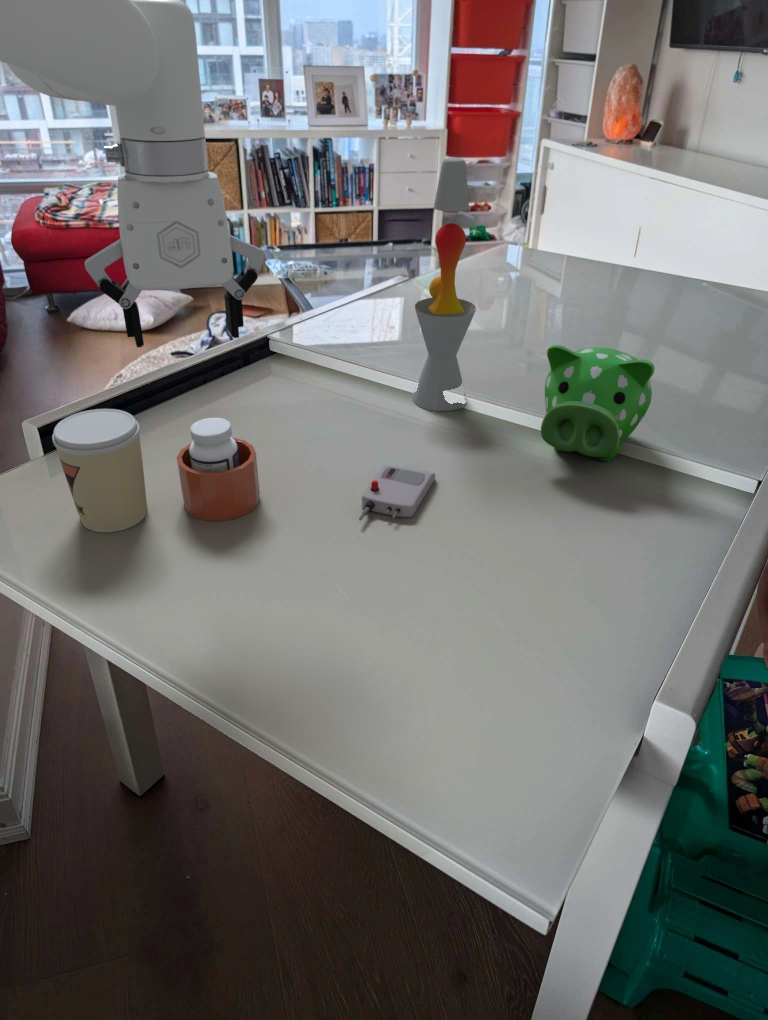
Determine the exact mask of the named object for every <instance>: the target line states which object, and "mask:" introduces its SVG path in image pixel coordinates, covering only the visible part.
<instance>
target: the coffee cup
mask: <svg viewBox="0 0 768 1020" xmlns="http://www.w3.org/2000/svg"><path fill="white" fill-rule="evenodd" d="M140 433H141V427H140V424H139V422H138V421H137V420H136V418H135V417H134V416H133V415H132V414H131V413H129V412H127V411H124V410H121V409H116V408H95V409H88V410H83V411H80V412H77V413H73V414H71V415H68V416H66V417H65V418H63V419H61V420H60V421H59V422H58V423H57V424H56V425H55V427H54V428H53V433H52V435H51V436H52V437H51V439H52V440H51V441H52V443H53V446H54V447H55V448H56V449H55V450H56V451H57V455H58V458H59V461H60V464H61V467H62V470H63V473H64V476H65V480H66V482H67V485H68V488H69V491H70V494H71V497H72V500H73V503H74V505H75V508H76V512H77V514H78V517H79V520H80V522H81V524H82V525H83V526H84V528H86V529H88V530H90V531H92V532H96V533H115V532H121V531H124V530H128V529H130V528H133V527H134V526H137V525H138V524H139V523H140V522H142V521H143V520H144V518H145V517H146V516H147V512H148V503H147V502H148V501H147V494H146V493H147V491H146V482H145V473H144V463H143V453H142V445H141V438H140V437H141V436H140Z"/></svg>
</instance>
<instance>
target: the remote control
mask: <svg viewBox="0 0 768 1020" xmlns="http://www.w3.org/2000/svg"><path fill="white" fill-rule="evenodd" d="M435 480H436V473H435V472H432V471H428V470H424V469H420V468H419V469H418V468H413V467H408V466H404V465H398V464H391V463H386V464H384V465H383V466H382V467H381V469H379V471H378V472H377V473H376V475H375V477H374V478H373V479H372V480H371V482H370V484H369V485H368V486H367V487H366V489H365V491H364V492H363V493H362V494H361V507H362V508H364V510H363V511H362V512H361V515H360V516H359V518H358V521H359V522H360V521H363V518H364V517H365V516H366V515H367V514H368V513H369V512H371V511H372V512H375V513H379V514H383V515H387V516H391V517H392V519H395V518H396V517H400V518H412V517H413V516H414V514H415V513H416V511H417V510H418V508H419V506H420V505H421V503H422V501H423V499H424V498H425V496H426V495H427V493H428V491H429V490H430V488H431V487H432V485H433V483H434V481H435Z"/></svg>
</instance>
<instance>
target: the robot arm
mask: <svg viewBox="0 0 768 1020" xmlns="http://www.w3.org/2000/svg"><path fill="white" fill-rule="evenodd" d="M0 62H1V63H3V64H6V65H7V66H8V68H9V70H10V71H11V72H12V73H13V74H14V76H15V77H16V78H18V79H19V80H20V81H21V82H22V83H23V84H25V85H26V86H27V87H29V88H30V89H32V90H34V91H36V92H38V93H39V94H40V93H41V94H43V95H46V96H48V97H50V98H51V97H52V98H56V99H63V100H68V101H76V102H86V103H93V104H98V105H104V106H112V107H113V106H114V107H115V114H116V115H115V116H116V120H117V127H118V135H119V137H118V138H119V141H116V144H115V143H114V144H112V145H104V153H105V159H106V163H115V164H116V165H120V167H121V168H124V173H120V174H119V175H118V177H117V191H116V194H117V195H116V198H117V213H118V216H117V217H118V229H119V237H120V238H119V239H117V240H116V241H114V242H112V243H111V244H109V245H108V246H106V247H105V248H103V249H101V250H99V251H97V252H96V253H95V254H93V255H92V256H90V257H88V258H87V259H86V260H84V269H85V270H86V272H87V273H88V274H89V276H90V278H92V280H93V281H94V283H95V284H96V285H97V287H98V288H99V289H100V291H101V292H102V293H103V294H104V295H106V296H107V297H109V298H110V299H111V300H113V301H114V302H115V303H117V305H119V307H120V308H122V312H123V317H124V324H125V325H124V326H125V331H126V336H127V338H134V341H135V346H136V348H143V347H144V346H145V342H144V337H143V330H142V324H141V319H140V318H141V317H140V316H141V315H140V311H139V306H138V302H137V301H136V300H137V298H138V297H139V296H140V294H141V293H142V291H149V292H150V291H167V290H180V289H181V290H182V289H193V288H205V287H215V286H222V287H223V288H224V289H225V290H226V291H225V294H224V295H223V297H224V306H225V307H224V308H225V309H224V310H225V319H226V328H227V331H228V333H229V334H230V336H231V338H233V339H239V338H240V331H239V329H240V328H243V327H244V326H245V325H244V312H243V311H244V310H243V299H244V298H245V297H246V293H247V292H248V291H249V290H250V288H251V287H252V286H253V285H254V284H255V283H256V281H257V280H258V278H259V277H258V276H259V273H260V272H261V270H262V267H263V265H264V262H265V260H266V257H267V256H266V253H265V252H264V251H263V249H262V248H259V247H258V246H255V245H253V244H251V243H250V242H247V241H245V240H242V239H241V238H239V237H236V236H234V235H231V234H230V230H229V229H230V228H229V222H228V217H227V210H226V205H225V199H224V195H223V192H222V187H221V183H220V180H219V176H218V175H217V174H216V173H214V172H212V171H209V162H208V152H207V141H206V132H205V131H206V130H205V121H204V110H203V109H204V108H203V98H202V87H201V77H200V76H201V75H200V65H199V55H198V44H197V32H196V23H195V18H194V15H193V13H192V11H191V9H190V7H189V6H188V5H187V4H186V3H185V1H181V0H0ZM233 253H236V254H238V255H240V256H243V257H244V258H246V259H247V261H246V264H245V267H244V268H243V269H242V270H241V272H240V273H239V274H238V275H237V276H236V278H235V277H234V263H233V262H234V261H233ZM121 258H122V260H123V266H124V270H125V275H126V279H125V281H124V282H123V283H122V284H121V285H119V284H118V283H117V282H116V281H114V280H113V279H111V278H110V277H109V276H108V274H107V273H106V271H105V269H106V268H107V267H108V266H111V264H113V263H115V262H117V261H118V260H120V259H121Z"/></svg>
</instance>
